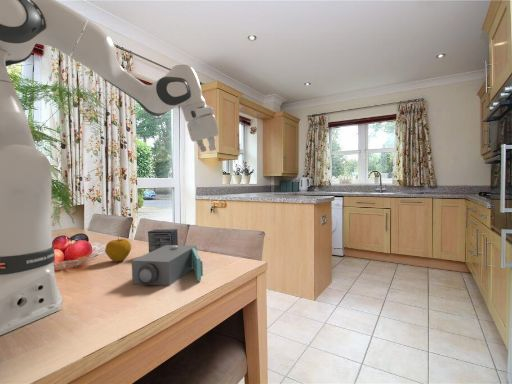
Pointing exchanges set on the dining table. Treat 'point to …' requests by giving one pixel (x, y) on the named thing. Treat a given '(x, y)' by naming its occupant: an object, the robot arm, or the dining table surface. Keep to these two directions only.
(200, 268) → the side door
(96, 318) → the dining table surface
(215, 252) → the dining table surface
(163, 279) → the block
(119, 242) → the apple
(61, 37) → the robot arm
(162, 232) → the small box
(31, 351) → the dining table surface
